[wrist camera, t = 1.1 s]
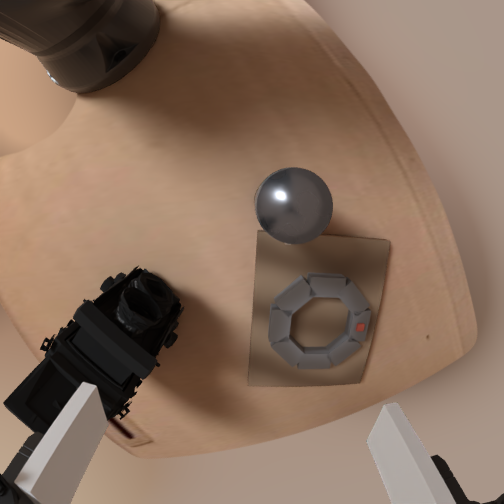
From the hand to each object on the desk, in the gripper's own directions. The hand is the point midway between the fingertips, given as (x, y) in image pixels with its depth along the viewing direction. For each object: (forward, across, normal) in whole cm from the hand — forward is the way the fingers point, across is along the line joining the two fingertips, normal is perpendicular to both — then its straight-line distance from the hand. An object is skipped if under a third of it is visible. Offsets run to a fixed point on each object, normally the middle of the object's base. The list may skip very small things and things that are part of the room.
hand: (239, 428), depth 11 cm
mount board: (+19, +8, -3) cm, 21 cm away
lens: (+20, +3, +9) cm, 22 cm away
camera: (+20, -12, -5) cm, 23 cm away
